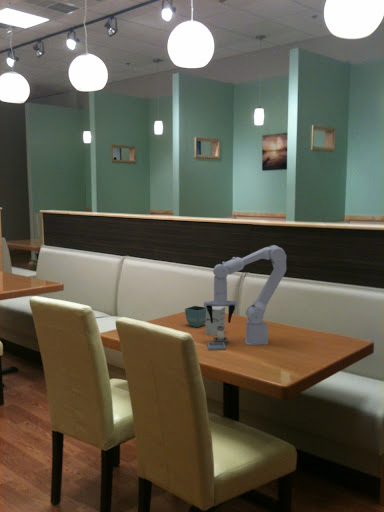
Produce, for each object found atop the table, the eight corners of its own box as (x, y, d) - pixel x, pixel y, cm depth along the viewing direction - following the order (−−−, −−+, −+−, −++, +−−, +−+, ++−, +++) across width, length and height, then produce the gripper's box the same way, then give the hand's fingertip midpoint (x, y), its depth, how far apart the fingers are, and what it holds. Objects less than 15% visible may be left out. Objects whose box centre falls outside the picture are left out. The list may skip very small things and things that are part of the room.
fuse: (223, 341, 236) (223, 326, 235) (224, 343, 233) (224, 327, 232) (216, 341, 236) (216, 326, 235) (217, 343, 233) (217, 328, 232)
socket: (226, 341, 238) (226, 336, 237) (228, 345, 232) (228, 340, 231) (213, 341, 237) (213, 337, 237) (214, 345, 231) (214, 341, 231)
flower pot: (194, 322, 271) (194, 305, 270) (209, 325, 266) (209, 307, 265) (184, 326, 264) (184, 308, 263) (198, 328, 259) (198, 310, 258)
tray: (224, 345, 231) (224, 342, 231) (225, 350, 224) (225, 347, 223) (207, 346, 230) (207, 342, 230) (208, 351, 223) (208, 347, 223)
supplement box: (205, 334, 248) (205, 308, 247) (210, 330, 255) (210, 305, 254) (220, 336, 246) (220, 309, 244) (225, 332, 252) (225, 306, 251)
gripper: (235, 290, 236) (235, 319, 238) (203, 290, 235) (203, 320, 237) (237, 293, 229) (237, 323, 231) (204, 293, 228) (204, 324, 230)
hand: (220, 322), depth 233 cm, fingers open, 7 cm apart
